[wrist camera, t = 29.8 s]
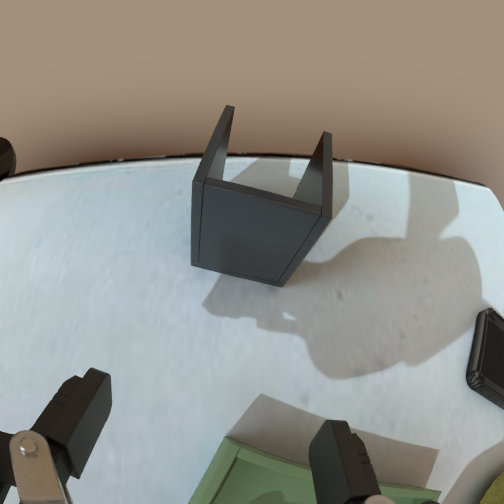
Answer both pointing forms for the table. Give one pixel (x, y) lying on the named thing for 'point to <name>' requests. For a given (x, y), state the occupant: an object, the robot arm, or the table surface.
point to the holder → (256, 215)
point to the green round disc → (495, 492)
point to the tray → (274, 480)
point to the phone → (488, 357)
